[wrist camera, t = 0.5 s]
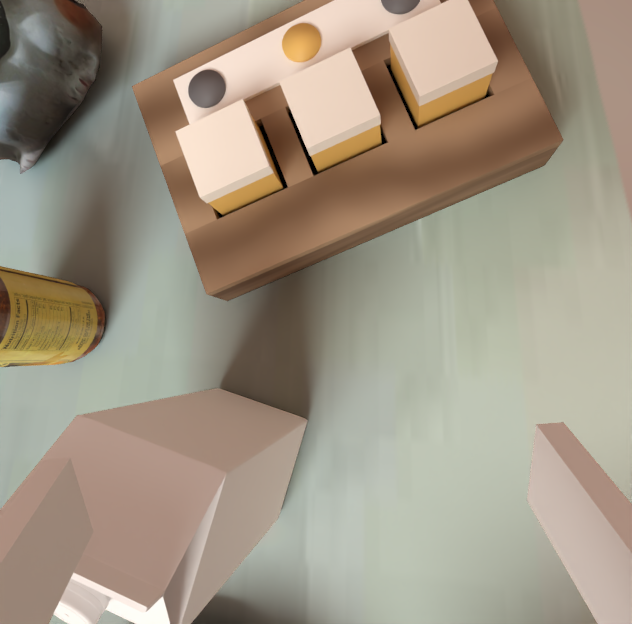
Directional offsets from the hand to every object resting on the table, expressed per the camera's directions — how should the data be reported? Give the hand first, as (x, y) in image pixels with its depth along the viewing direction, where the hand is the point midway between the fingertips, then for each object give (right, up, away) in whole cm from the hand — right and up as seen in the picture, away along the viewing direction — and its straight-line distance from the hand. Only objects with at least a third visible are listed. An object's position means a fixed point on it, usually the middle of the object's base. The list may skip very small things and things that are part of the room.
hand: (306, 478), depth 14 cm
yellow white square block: (+8, +20, +18) cm, 28 cm away
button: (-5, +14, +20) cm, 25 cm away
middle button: (+2, +17, +19) cm, 25 cm away
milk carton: (-5, -5, +21) cm, 22 cm away
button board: (+2, +18, +22) cm, 28 cm away
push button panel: (-1, +23, +19) cm, 29 cm away
